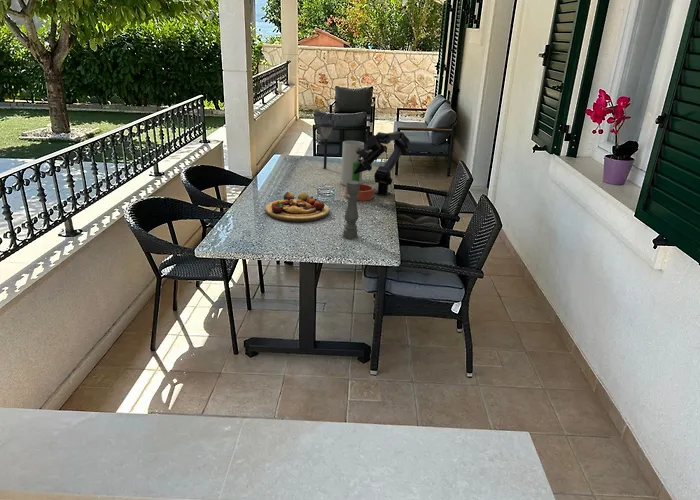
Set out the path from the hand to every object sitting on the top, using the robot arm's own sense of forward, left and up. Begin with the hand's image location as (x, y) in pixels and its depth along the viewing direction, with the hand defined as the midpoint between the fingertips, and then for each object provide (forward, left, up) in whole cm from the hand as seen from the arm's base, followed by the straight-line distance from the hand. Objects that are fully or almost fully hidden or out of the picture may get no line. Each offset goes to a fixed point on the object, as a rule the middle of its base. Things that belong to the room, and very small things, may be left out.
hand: (353, 172), depth 278 cm
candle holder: (+54, +31, -14) cm, 64 cm away
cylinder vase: (-21, -13, -14) cm, 28 cm away
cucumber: (-1, +1, -7) cm, 7 cm away
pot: (-1, +4, -14) cm, 14 cm away
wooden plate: (+42, -7, -14) cm, 45 cm away
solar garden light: (-42, -46, -14) cm, 64 cm away
